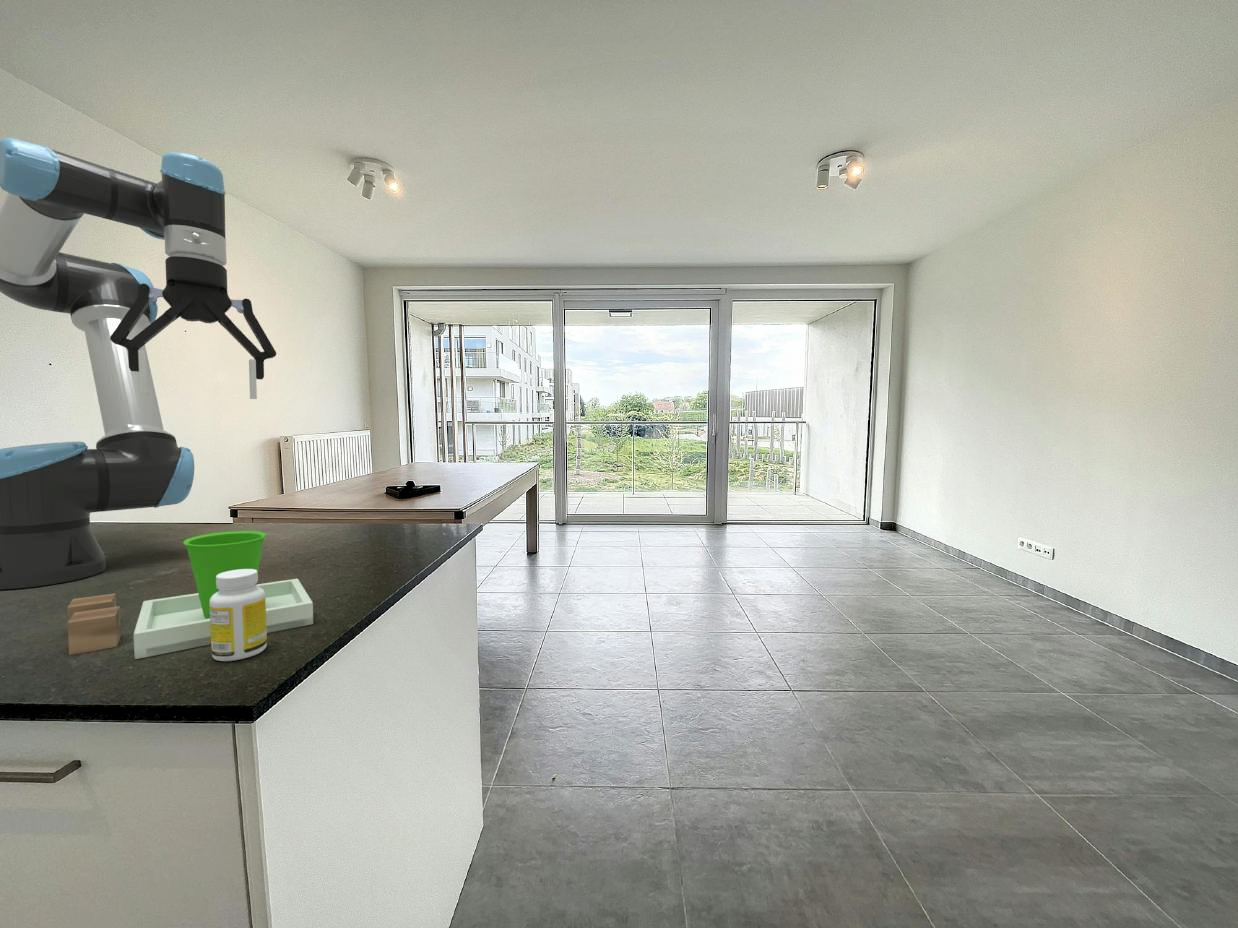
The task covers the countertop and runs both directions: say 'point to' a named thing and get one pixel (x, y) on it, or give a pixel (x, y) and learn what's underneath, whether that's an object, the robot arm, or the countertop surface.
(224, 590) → the supplement bottle
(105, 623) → the walnut block
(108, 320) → the robot arm
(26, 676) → the countertop surface
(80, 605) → the walnut block
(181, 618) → the tray
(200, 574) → the cup
